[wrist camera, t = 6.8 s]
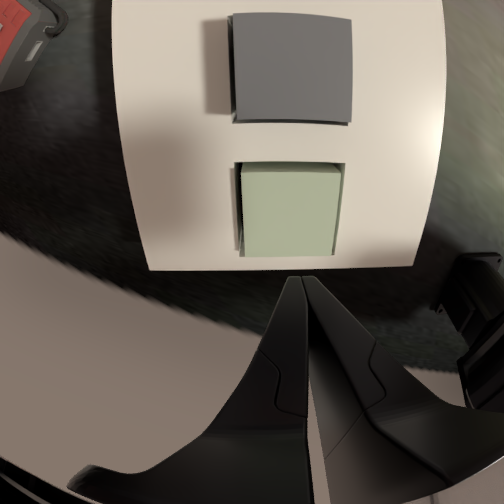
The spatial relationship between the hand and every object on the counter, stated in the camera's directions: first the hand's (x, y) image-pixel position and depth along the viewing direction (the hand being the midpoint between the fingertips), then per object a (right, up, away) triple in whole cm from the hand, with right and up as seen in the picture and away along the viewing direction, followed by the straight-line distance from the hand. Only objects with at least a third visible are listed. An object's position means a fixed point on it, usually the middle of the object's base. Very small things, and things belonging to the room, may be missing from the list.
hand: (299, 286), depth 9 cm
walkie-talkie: (-21, +20, -2) cm, 29 cm away
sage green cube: (0, +5, +8) cm, 10 cm away
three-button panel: (0, +11, +3) cm, 11 cm away
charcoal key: (0, +11, +3) cm, 11 cm away
